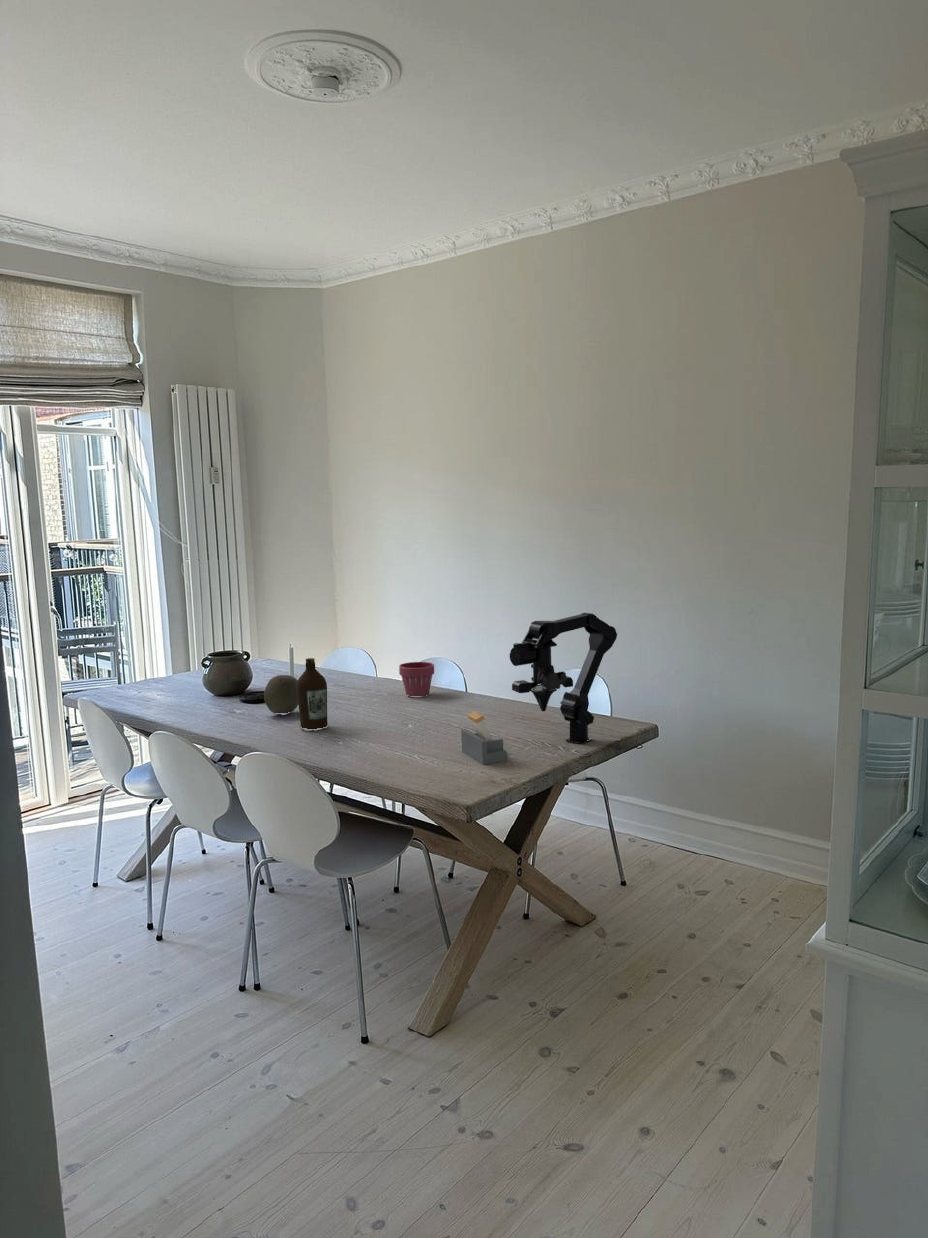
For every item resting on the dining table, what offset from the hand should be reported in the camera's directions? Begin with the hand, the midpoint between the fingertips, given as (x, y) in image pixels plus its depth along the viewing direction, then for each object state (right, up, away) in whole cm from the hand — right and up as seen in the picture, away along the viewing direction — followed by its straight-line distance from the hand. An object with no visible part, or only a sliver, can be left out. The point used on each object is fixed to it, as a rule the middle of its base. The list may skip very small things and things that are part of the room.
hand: (543, 711), depth 270 cm
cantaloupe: (-93, -8, +60) cm, 111 cm away
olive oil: (-78, -10, +38) cm, 87 cm away
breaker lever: (-17, -10, -4) cm, 20 cm away
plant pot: (-43, -3, +84) cm, 94 cm away
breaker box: (-19, -13, -4) cm, 23 cm away
